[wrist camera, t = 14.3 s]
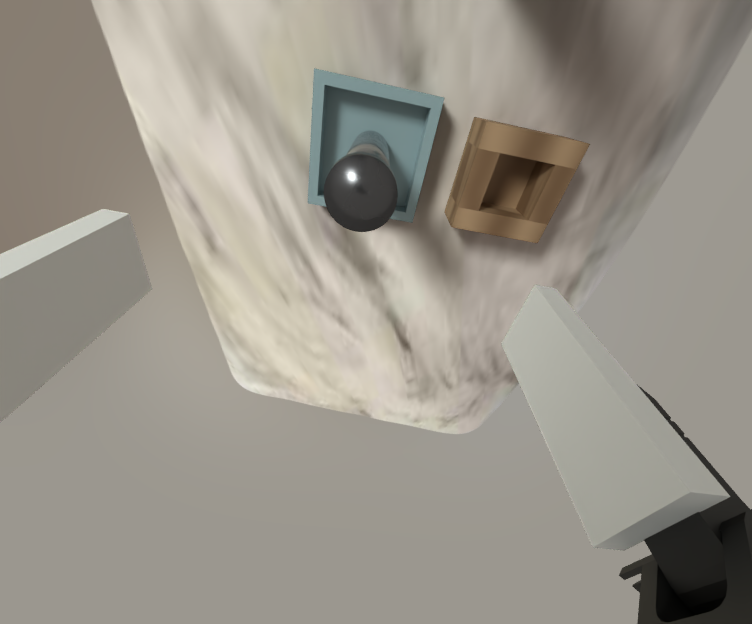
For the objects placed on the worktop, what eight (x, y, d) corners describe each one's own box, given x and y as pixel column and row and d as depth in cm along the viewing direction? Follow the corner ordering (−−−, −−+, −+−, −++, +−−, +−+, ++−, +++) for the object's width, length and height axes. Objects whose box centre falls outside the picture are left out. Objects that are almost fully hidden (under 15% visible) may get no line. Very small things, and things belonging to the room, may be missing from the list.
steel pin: (345, 171, 34) (321, 225, 21) (350, 121, 31) (326, 148, 18) (387, 179, 35) (389, 237, 22) (396, 131, 32) (405, 164, 19)
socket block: (444, 212, 38) (451, 227, 34) (474, 116, 32) (487, 121, 28) (521, 226, 38) (537, 243, 34) (564, 136, 33) (589, 144, 29)
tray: (312, 195, 37) (307, 203, 34) (319, 69, 30) (314, 68, 27) (410, 214, 38) (412, 222, 35) (439, 96, 31) (444, 97, 28)
